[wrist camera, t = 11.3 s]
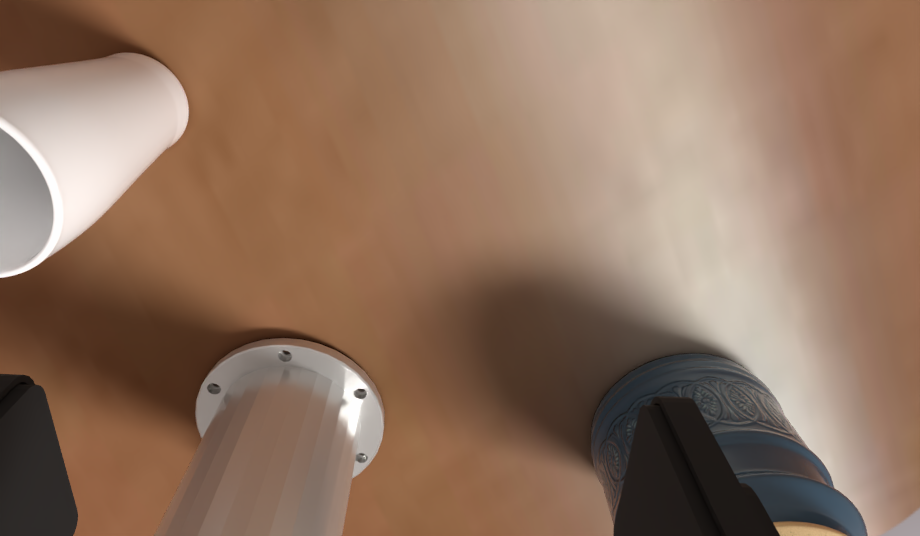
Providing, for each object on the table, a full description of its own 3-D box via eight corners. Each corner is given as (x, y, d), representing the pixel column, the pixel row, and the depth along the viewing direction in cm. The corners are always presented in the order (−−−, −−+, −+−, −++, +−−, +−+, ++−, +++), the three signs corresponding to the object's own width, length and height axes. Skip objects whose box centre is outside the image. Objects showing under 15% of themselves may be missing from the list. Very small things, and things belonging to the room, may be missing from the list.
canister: (789, 456, 48) (960, 708, 32) (622, 515, 50) (704, 777, 34) (743, 318, 43) (919, 537, 27) (558, 391, 45) (620, 633, 29)
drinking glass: (115, 174, 37) (-70, 301, 24) (54, 55, 35) (-196, 124, 21) (226, 144, 37) (99, 257, 23) (172, 20, 34) (-8, 68, 20)
